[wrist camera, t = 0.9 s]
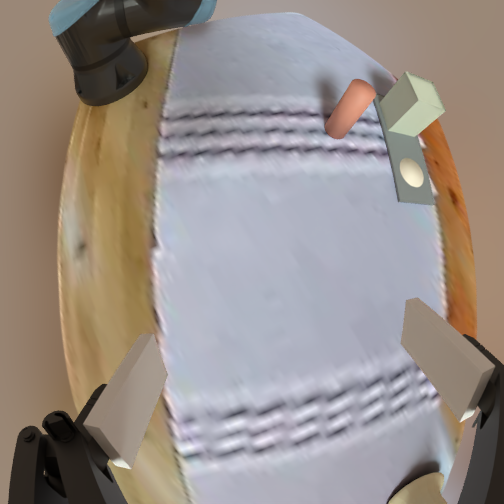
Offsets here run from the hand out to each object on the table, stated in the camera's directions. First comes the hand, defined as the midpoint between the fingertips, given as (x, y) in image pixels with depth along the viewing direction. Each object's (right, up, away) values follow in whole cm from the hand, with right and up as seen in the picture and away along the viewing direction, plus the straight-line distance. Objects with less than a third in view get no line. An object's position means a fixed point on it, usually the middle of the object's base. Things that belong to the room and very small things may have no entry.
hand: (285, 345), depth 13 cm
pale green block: (+28, +31, +32) cm, 53 cm away
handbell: (+35, -51, +22) cm, 66 cm away
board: (+28, +25, +32) cm, 49 cm away
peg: (+13, +26, +30) cm, 42 cm away
